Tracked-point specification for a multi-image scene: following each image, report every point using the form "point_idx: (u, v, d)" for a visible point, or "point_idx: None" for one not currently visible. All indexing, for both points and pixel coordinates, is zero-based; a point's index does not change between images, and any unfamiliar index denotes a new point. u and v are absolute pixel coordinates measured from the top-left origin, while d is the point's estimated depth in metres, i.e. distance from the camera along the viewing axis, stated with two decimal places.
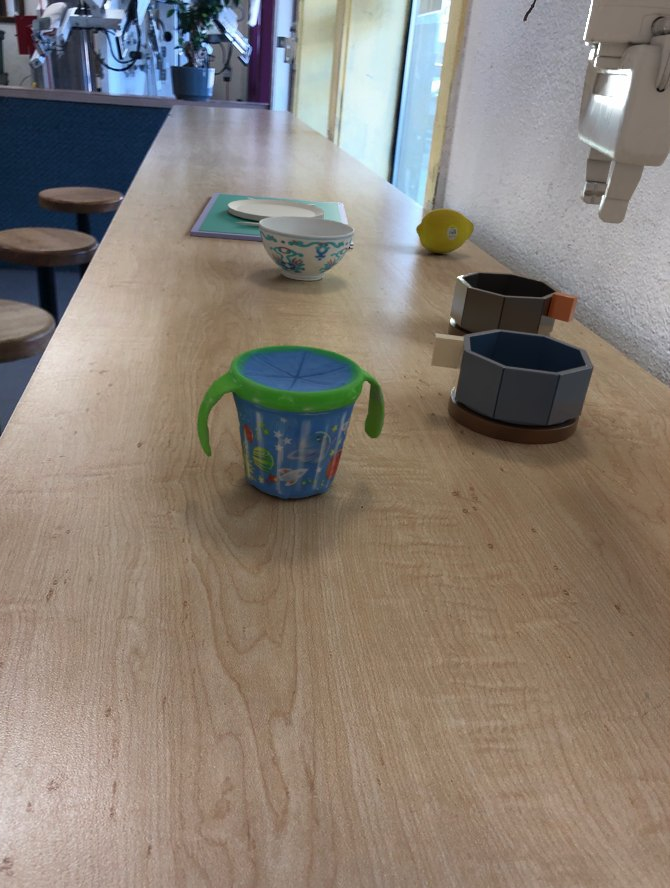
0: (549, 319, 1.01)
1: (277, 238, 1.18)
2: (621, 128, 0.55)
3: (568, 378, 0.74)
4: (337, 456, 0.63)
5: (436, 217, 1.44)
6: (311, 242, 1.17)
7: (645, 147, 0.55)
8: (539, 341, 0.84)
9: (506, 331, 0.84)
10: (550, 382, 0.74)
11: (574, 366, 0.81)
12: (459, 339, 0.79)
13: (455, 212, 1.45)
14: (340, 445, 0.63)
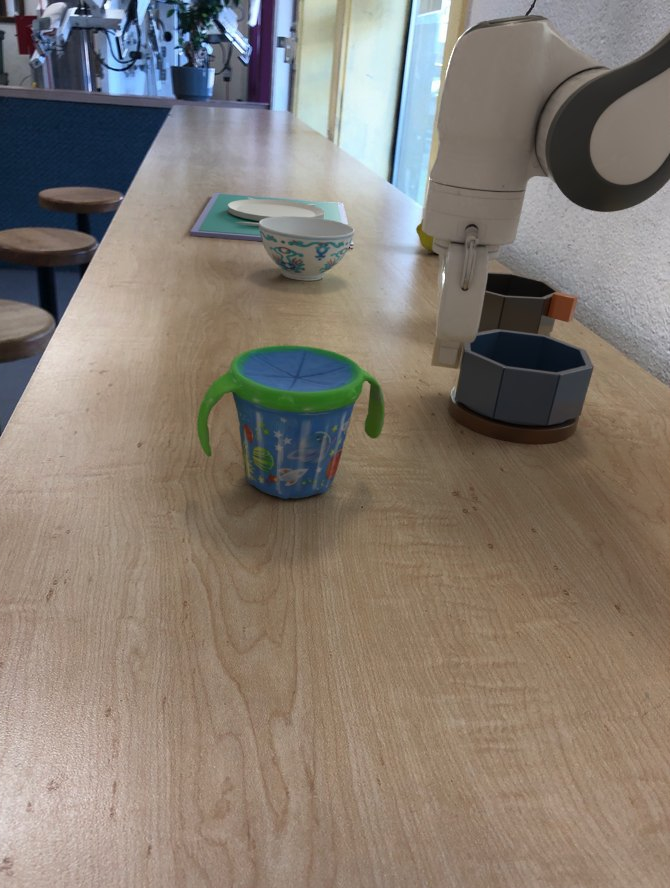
0: (549, 319, 1.01)
1: (277, 238, 1.18)
2: (438, 315, 0.69)
3: (568, 378, 0.74)
4: (337, 456, 0.63)
5: None
6: (311, 242, 1.17)
7: (457, 330, 0.69)
8: (539, 341, 0.84)
9: (506, 331, 0.84)
10: (550, 382, 0.74)
11: (574, 366, 0.81)
12: None
13: None
14: (340, 445, 0.63)
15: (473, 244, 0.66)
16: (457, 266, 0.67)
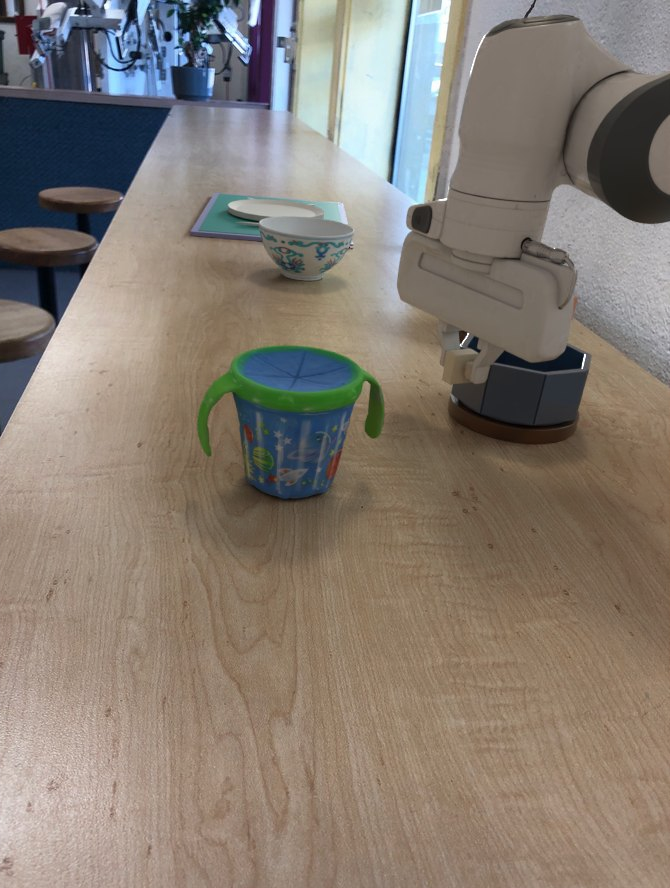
0: None
1: (277, 238, 1.18)
2: (533, 338, 0.66)
3: None
4: (337, 456, 0.63)
5: None
6: (311, 242, 1.17)
7: (552, 350, 0.66)
8: None
9: None
10: (581, 379, 0.75)
11: None
12: (473, 352, 0.76)
13: None
14: (340, 445, 0.63)
15: None
16: (553, 286, 0.64)
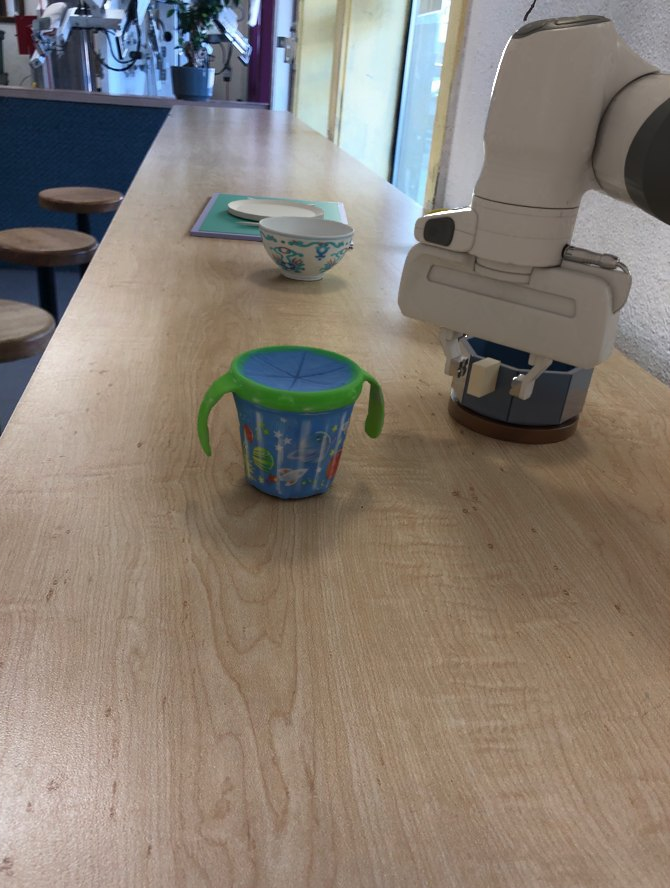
0: None
1: (277, 238, 1.18)
2: (592, 346, 0.65)
3: None
4: (337, 456, 0.63)
5: None
6: (311, 242, 1.17)
7: (606, 355, 0.66)
8: None
9: (468, 337, 0.81)
10: (590, 372, 0.77)
11: None
12: (495, 361, 0.74)
13: None
14: (340, 445, 0.63)
15: (626, 266, 0.63)
16: (610, 292, 0.63)
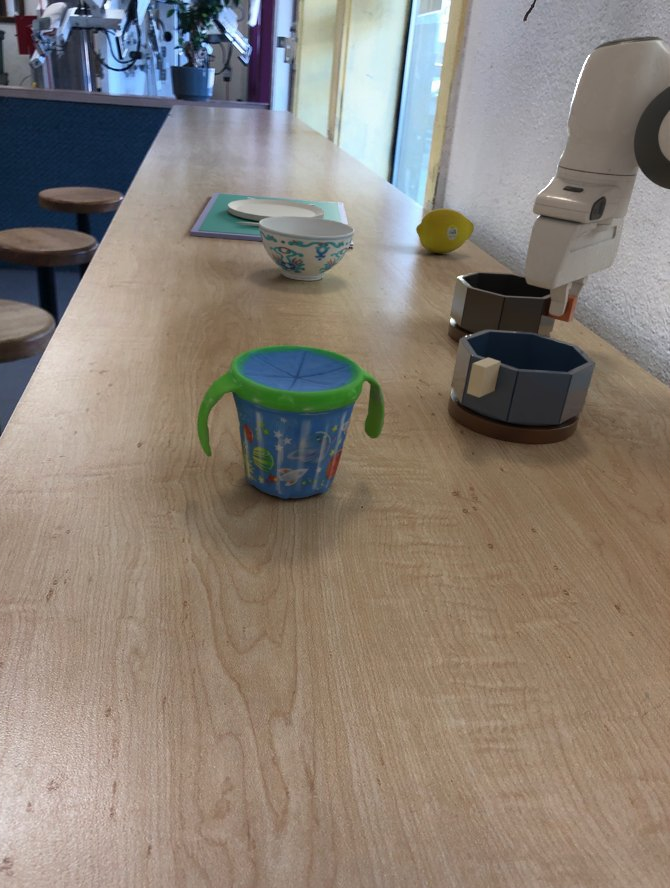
0: (549, 319, 1.01)
1: (277, 238, 1.18)
2: (616, 250, 1.01)
3: None
4: (337, 456, 0.63)
5: (436, 217, 1.44)
6: (311, 242, 1.17)
7: None
8: (487, 337, 0.83)
9: (468, 337, 0.81)
10: (590, 372, 0.77)
11: (528, 350, 0.85)
12: (495, 361, 0.74)
13: (455, 212, 1.45)
14: (340, 445, 0.63)
15: None
16: None
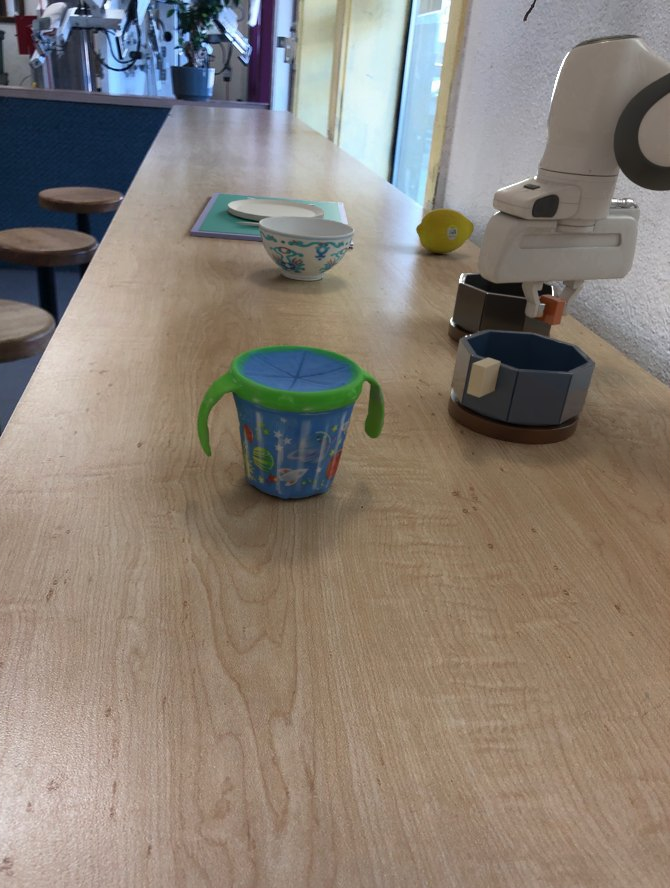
0: (540, 322, 0.99)
1: (277, 238, 1.18)
2: (630, 261, 0.96)
3: None
4: (337, 456, 0.63)
5: (436, 217, 1.44)
6: (311, 242, 1.17)
7: None
8: (487, 337, 0.83)
9: (468, 337, 0.81)
10: (590, 372, 0.77)
11: (528, 350, 0.85)
12: (495, 361, 0.74)
13: (455, 212, 1.45)
14: (340, 445, 0.63)
15: None
16: None
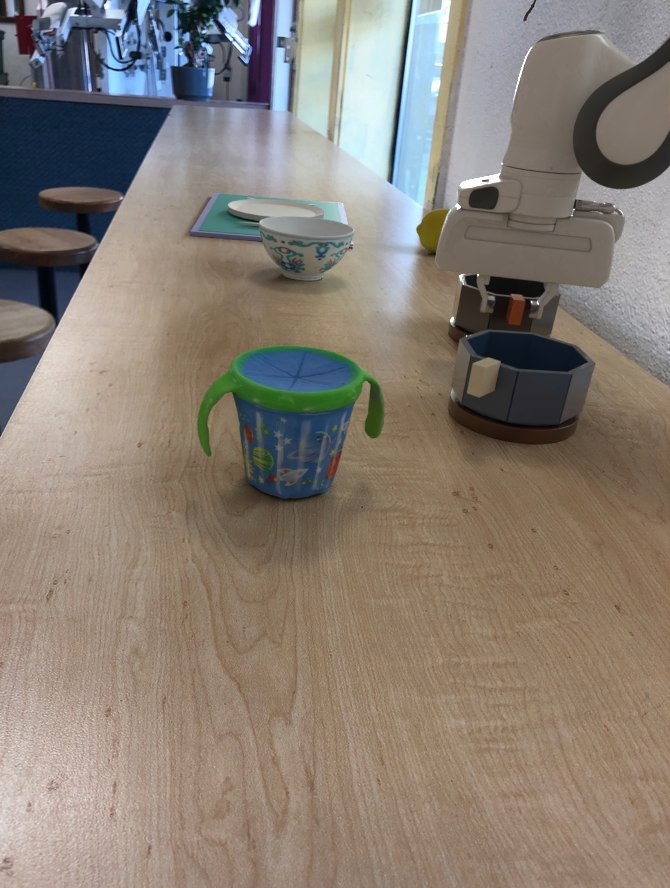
0: None
1: (277, 238, 1.18)
2: (605, 270, 0.90)
3: None
4: (337, 456, 0.63)
5: (436, 217, 1.44)
6: (311, 242, 1.17)
7: None
8: (487, 337, 0.83)
9: (468, 337, 0.81)
10: (590, 372, 0.77)
11: (528, 350, 0.85)
12: (495, 361, 0.74)
13: None
14: (340, 445, 0.63)
15: (620, 210, 0.89)
16: None
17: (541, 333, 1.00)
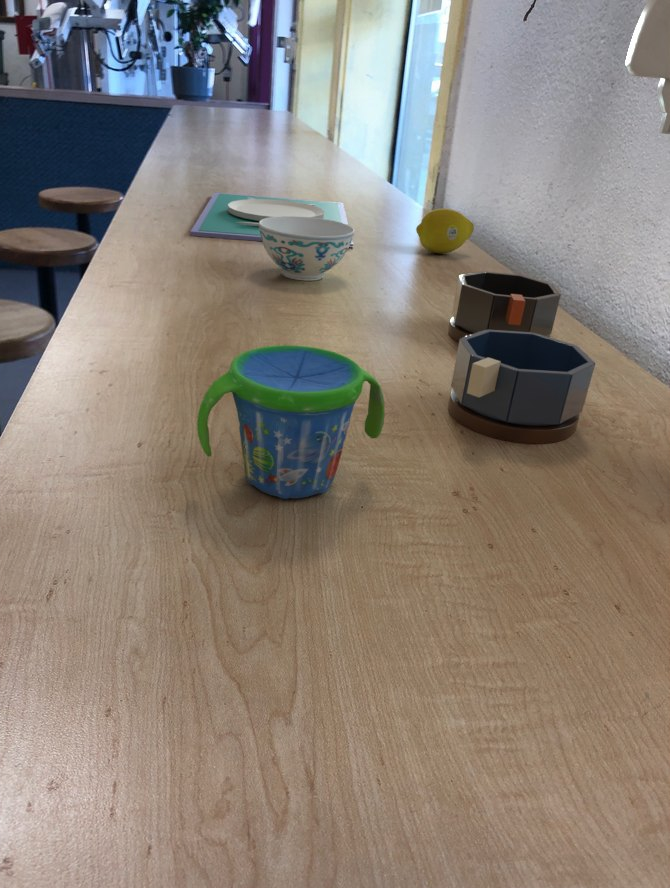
0: None
1: (277, 238, 1.18)
2: None
3: None
4: (337, 456, 0.63)
5: (436, 217, 1.44)
6: (311, 242, 1.17)
7: None
8: (487, 337, 0.83)
9: (468, 337, 0.81)
10: (590, 372, 0.77)
11: (528, 350, 0.85)
12: (495, 361, 0.74)
13: (455, 212, 1.45)
14: (340, 445, 0.63)
15: None
16: None
17: (541, 333, 1.00)
